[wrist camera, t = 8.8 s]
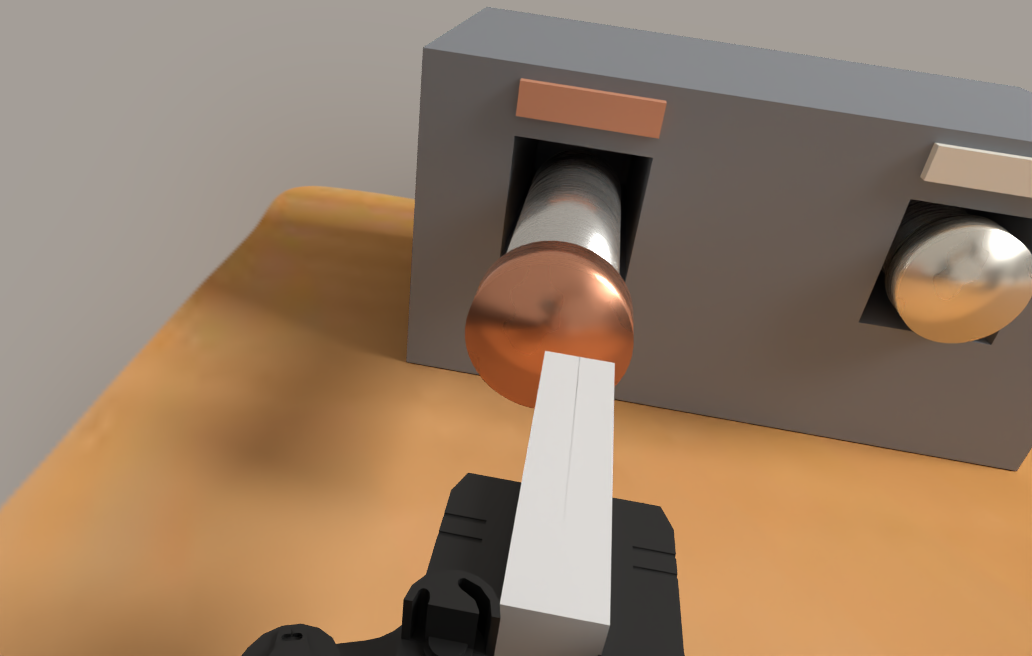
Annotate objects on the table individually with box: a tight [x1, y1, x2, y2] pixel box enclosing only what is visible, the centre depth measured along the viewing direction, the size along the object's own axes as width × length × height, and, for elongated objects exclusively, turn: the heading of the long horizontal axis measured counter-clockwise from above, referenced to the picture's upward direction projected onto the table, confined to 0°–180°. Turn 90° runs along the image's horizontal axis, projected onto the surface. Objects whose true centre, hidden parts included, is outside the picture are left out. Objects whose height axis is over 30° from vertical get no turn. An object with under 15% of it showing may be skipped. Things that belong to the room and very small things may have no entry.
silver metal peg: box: [881, 199, 1032, 343], centre depth 30 cm, size 12×4×4 cm, turn 172°
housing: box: [406, 7, 1032, 471], centre depth 33 cm, size 13×26×13 cm, turn 82°
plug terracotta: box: [465, 150, 634, 408], centre depth 24 cm, size 12×4×4 cm, turn 172°
